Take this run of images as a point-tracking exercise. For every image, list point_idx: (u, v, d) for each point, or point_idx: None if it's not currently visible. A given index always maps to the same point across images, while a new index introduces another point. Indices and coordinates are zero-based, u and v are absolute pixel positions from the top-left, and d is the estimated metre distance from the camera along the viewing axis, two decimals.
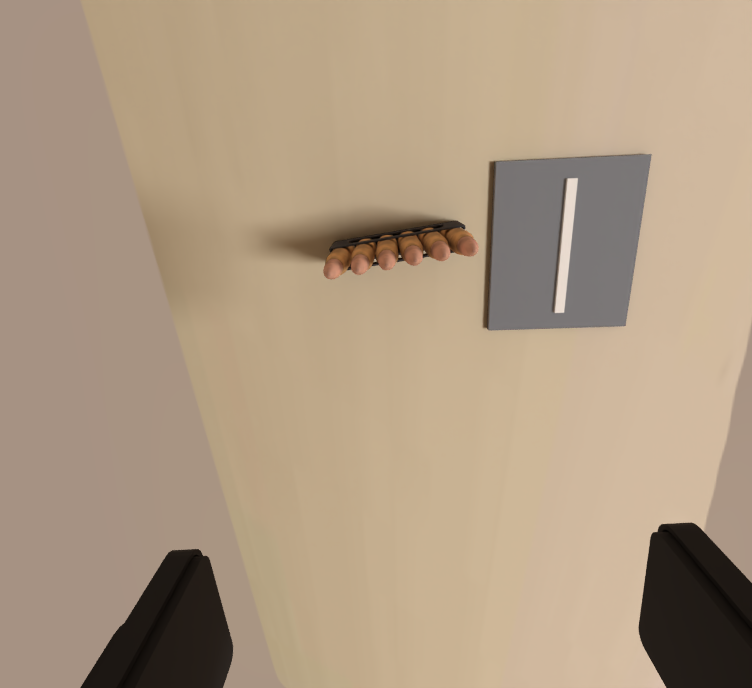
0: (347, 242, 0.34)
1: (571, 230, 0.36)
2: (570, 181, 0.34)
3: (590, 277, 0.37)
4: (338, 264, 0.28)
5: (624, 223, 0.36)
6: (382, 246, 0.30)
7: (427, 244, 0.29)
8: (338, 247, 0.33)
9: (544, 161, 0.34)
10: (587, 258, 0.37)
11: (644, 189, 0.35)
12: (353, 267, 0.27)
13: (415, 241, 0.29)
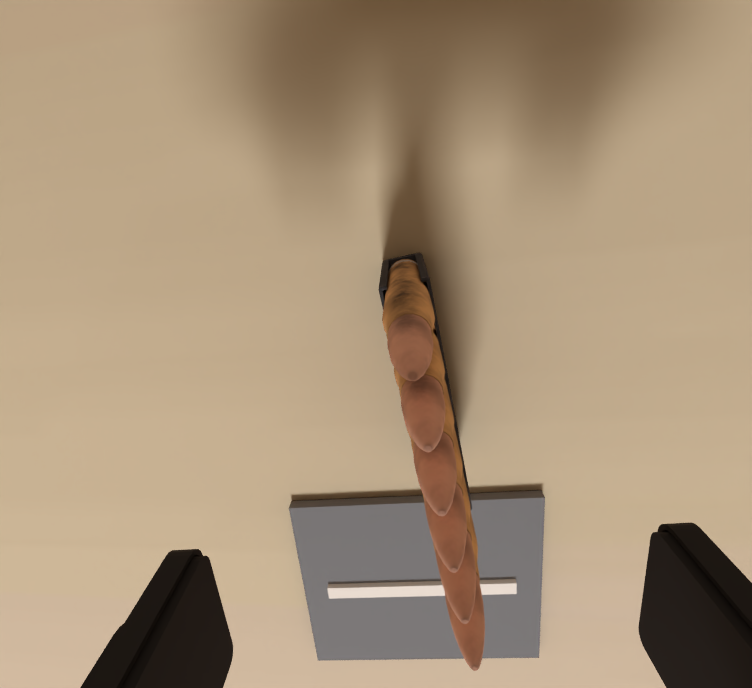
0: None
1: None
2: (512, 586, 0.25)
3: (381, 618, 0.27)
4: None
5: (454, 643, 0.27)
6: (451, 417, 0.14)
7: None
8: (431, 296, 0.16)
9: (539, 553, 0.24)
10: (408, 612, 0.26)
11: (496, 656, 0.27)
12: (430, 427, 0.10)
13: None
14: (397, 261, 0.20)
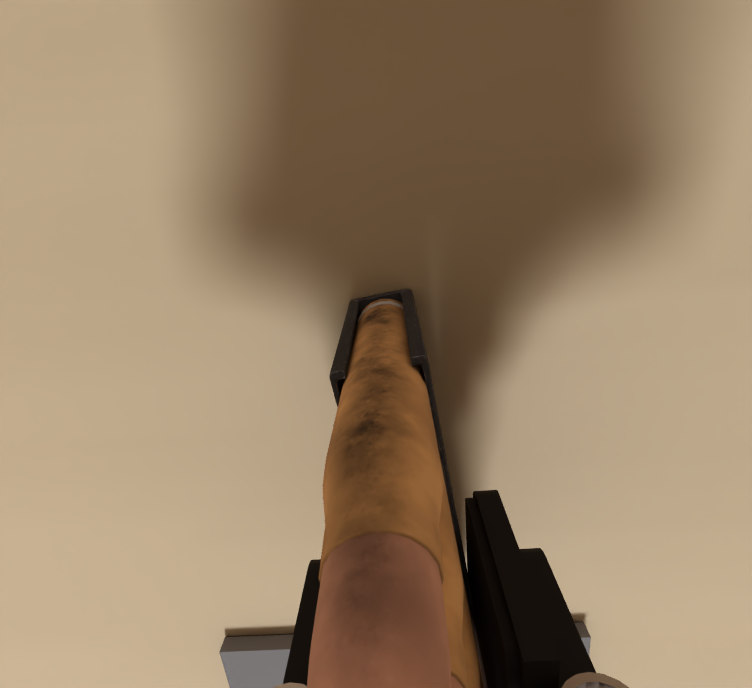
0: None
1: None
2: None
3: None
4: None
5: None
6: (475, 678, 0.06)
7: None
8: (430, 392, 0.08)
9: None
10: None
11: None
12: None
13: None
14: (372, 302, 0.12)
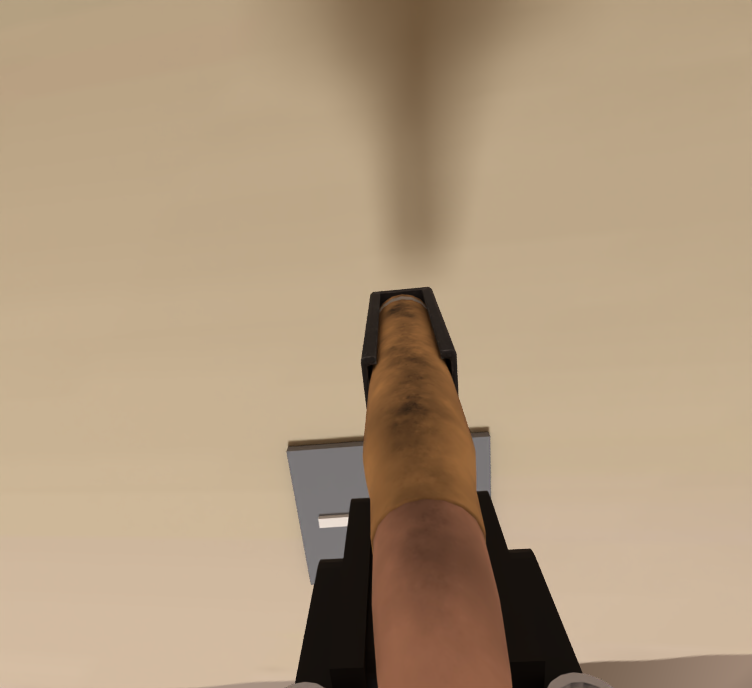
0: None
1: None
2: None
3: None
4: None
5: None
6: None
7: None
8: (455, 385, 0.08)
9: (488, 483, 0.31)
10: None
11: None
12: None
13: None
14: (393, 297, 0.13)
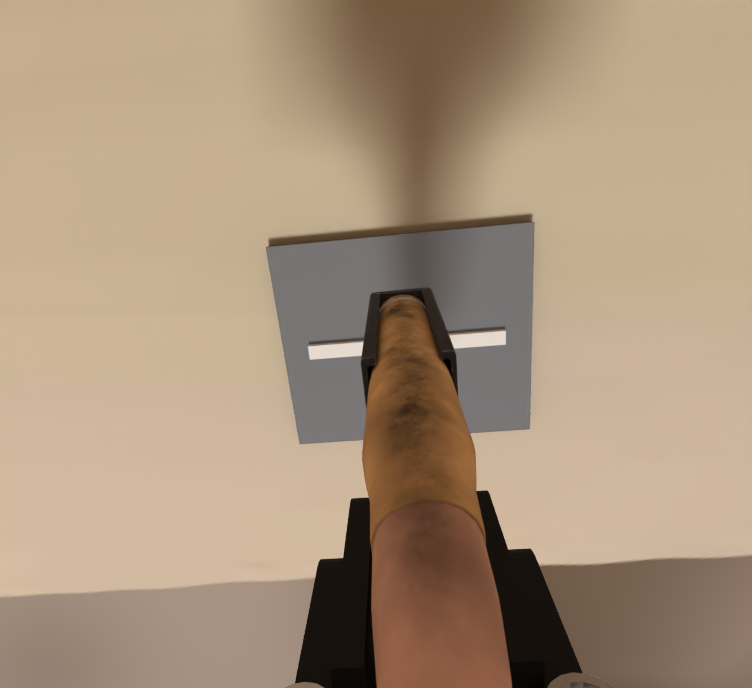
0: None
1: None
2: (501, 335, 0.24)
3: None
4: None
5: None
6: None
7: None
8: (455, 386, 0.08)
9: (529, 295, 0.23)
10: None
11: (486, 430, 0.26)
12: None
13: None
14: (393, 297, 0.13)
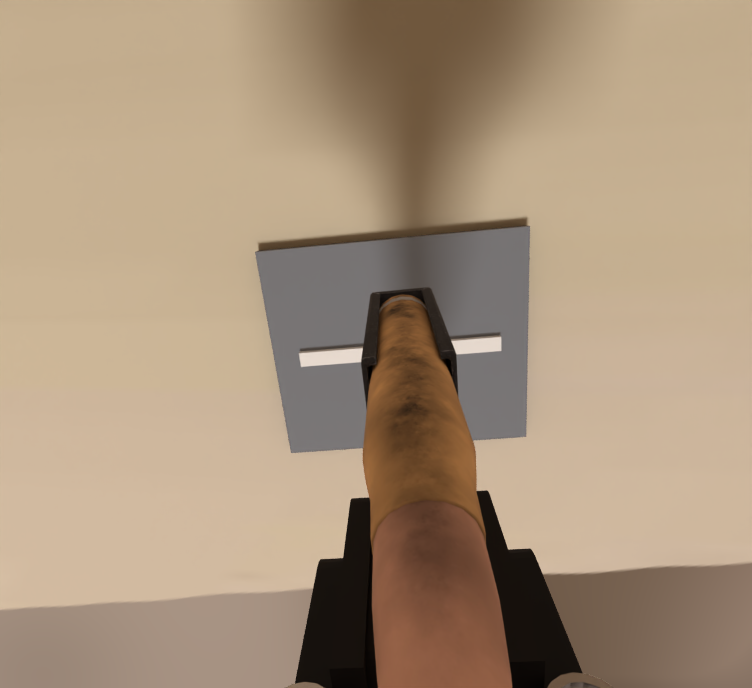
0: None
1: None
2: (496, 341, 0.23)
3: (358, 393, 0.25)
4: None
5: None
6: None
7: None
8: (455, 386, 0.08)
9: (525, 301, 0.23)
10: None
11: (481, 437, 0.26)
12: None
13: None
14: (393, 297, 0.13)
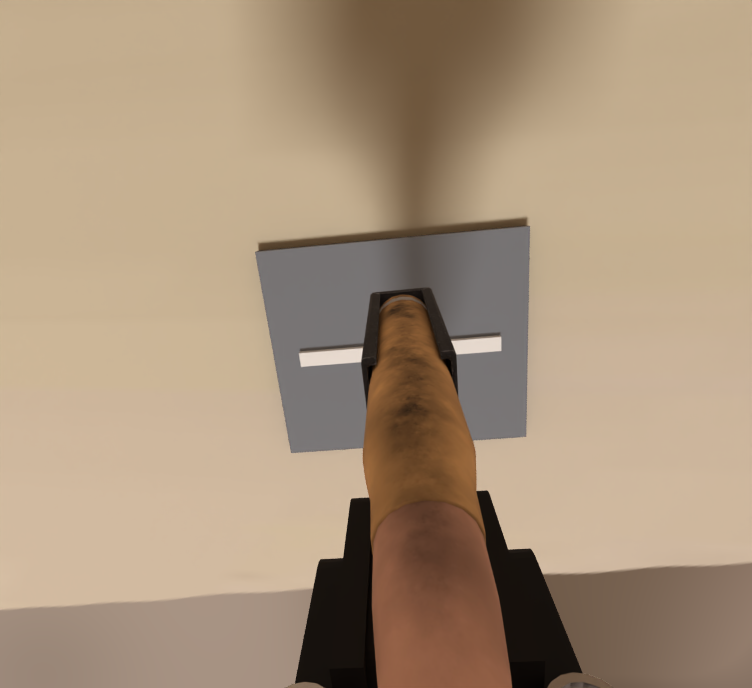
0: None
1: None
2: (496, 341, 0.23)
3: (358, 393, 0.25)
4: None
5: None
6: None
7: None
8: (455, 386, 0.08)
9: (525, 301, 0.23)
10: None
11: (481, 437, 0.26)
12: None
13: None
14: (393, 297, 0.13)
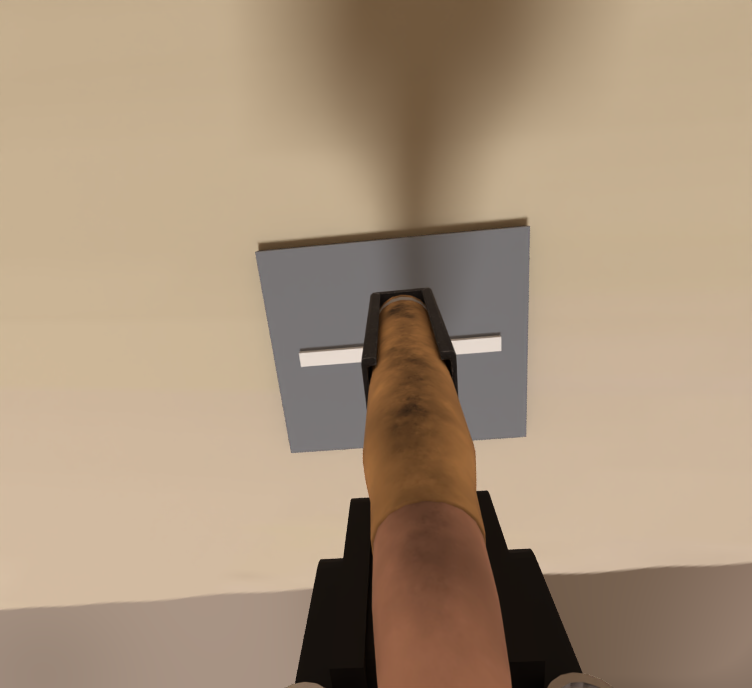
0: None
1: None
2: (496, 341, 0.23)
3: (358, 393, 0.25)
4: None
5: None
6: None
7: None
8: (455, 386, 0.08)
9: (525, 301, 0.23)
10: None
11: (481, 437, 0.26)
12: None
13: None
14: (393, 297, 0.13)
